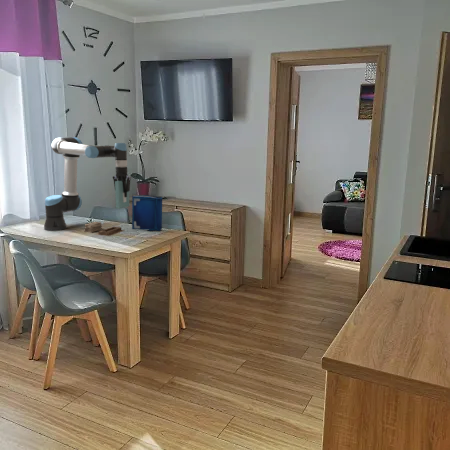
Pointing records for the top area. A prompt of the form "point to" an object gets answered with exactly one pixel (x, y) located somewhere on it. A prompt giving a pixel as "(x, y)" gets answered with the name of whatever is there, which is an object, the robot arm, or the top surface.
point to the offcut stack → (93, 227)
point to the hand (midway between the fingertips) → (122, 201)
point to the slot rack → (110, 231)
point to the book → (147, 212)
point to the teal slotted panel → (120, 195)
